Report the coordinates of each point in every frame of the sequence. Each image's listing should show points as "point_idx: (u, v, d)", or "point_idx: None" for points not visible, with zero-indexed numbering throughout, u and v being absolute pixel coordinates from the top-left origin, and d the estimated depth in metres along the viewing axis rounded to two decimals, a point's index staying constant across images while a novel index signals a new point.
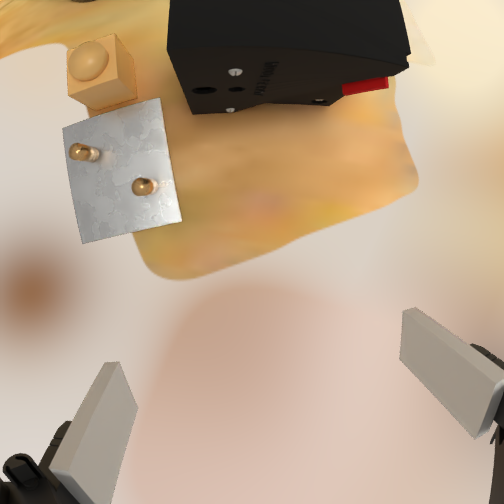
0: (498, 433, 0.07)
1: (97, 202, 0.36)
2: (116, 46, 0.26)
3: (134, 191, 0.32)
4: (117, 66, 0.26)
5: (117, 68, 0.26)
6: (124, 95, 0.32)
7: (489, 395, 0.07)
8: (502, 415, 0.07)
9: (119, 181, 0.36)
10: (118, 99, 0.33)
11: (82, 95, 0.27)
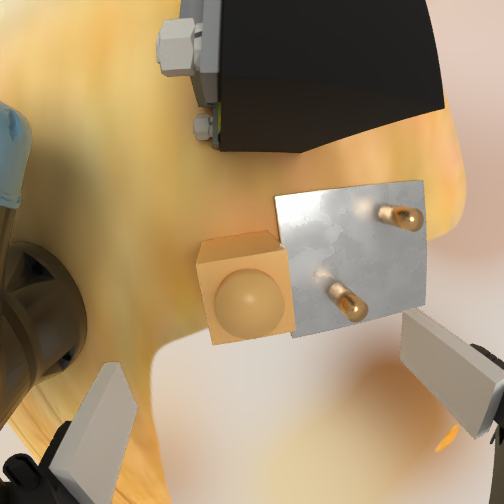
0: (498, 433, 0.07)
1: (391, 284, 0.30)
2: (219, 258, 0.21)
3: (418, 228, 0.24)
4: (262, 252, 0.21)
5: (268, 251, 0.21)
6: None
7: (489, 395, 0.07)
8: (502, 415, 0.07)
9: (376, 254, 0.30)
10: None
11: None
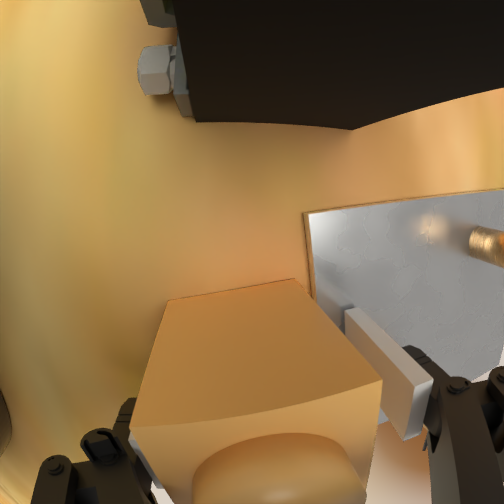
0: (429, 441, 0.08)
1: (469, 347, 0.17)
2: (195, 406, 0.07)
3: None
4: (316, 390, 0.07)
5: (335, 390, 0.07)
6: None
7: (410, 397, 0.08)
8: (430, 423, 0.08)
9: (459, 307, 0.16)
10: None
11: None
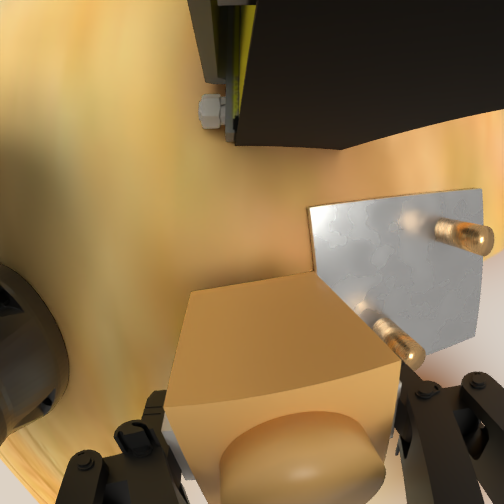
0: (401, 446, 0.08)
1: (443, 315, 0.23)
2: (227, 386, 0.07)
3: (488, 251, 0.16)
4: (341, 369, 0.07)
5: (358, 369, 0.07)
6: None
7: None
8: (401, 429, 0.08)
9: (429, 280, 0.22)
10: None
11: None
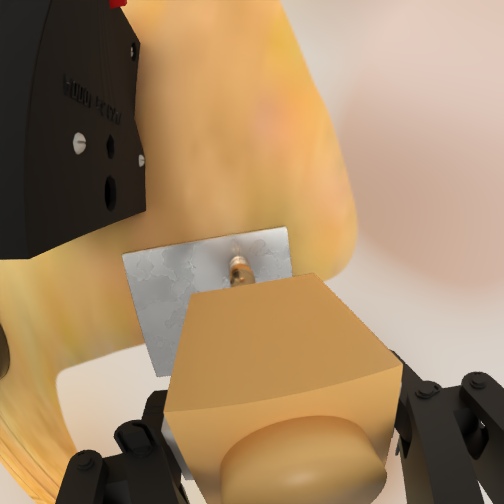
0: (401, 446, 0.08)
1: None
2: (228, 390, 0.07)
3: None
4: (342, 374, 0.07)
5: (360, 373, 0.07)
6: None
7: None
8: (401, 428, 0.08)
9: None
10: None
11: None
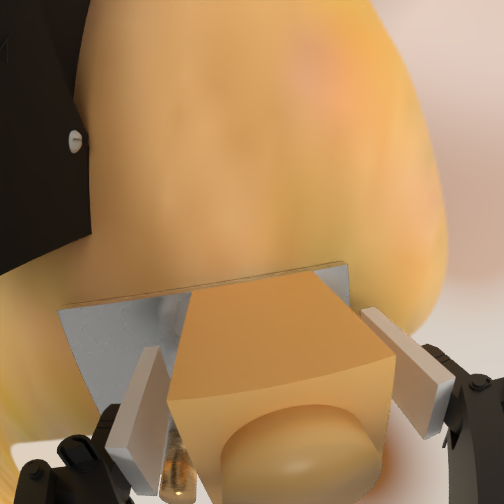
0: (449, 438, 0.07)
1: None
2: (228, 380, 0.08)
3: None
4: (337, 364, 0.08)
5: (354, 363, 0.07)
6: None
7: (433, 396, 0.08)
8: (451, 420, 0.08)
9: None
10: None
11: None
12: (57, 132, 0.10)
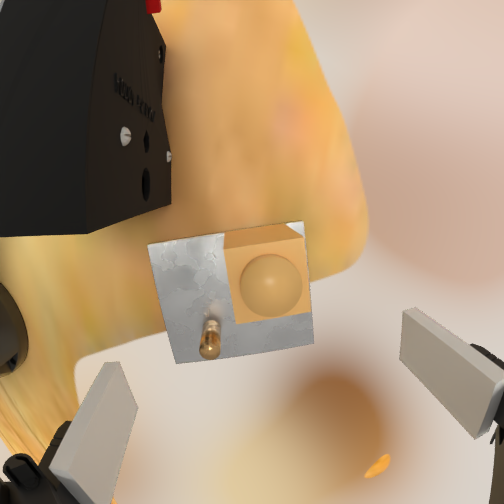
0: (498, 433, 0.07)
1: (269, 323, 0.33)
2: (244, 245, 0.23)
3: None
4: (282, 239, 0.23)
5: (288, 239, 0.23)
6: None
7: (489, 395, 0.07)
8: (502, 415, 0.07)
9: None
10: None
11: None
12: (164, 152, 0.26)
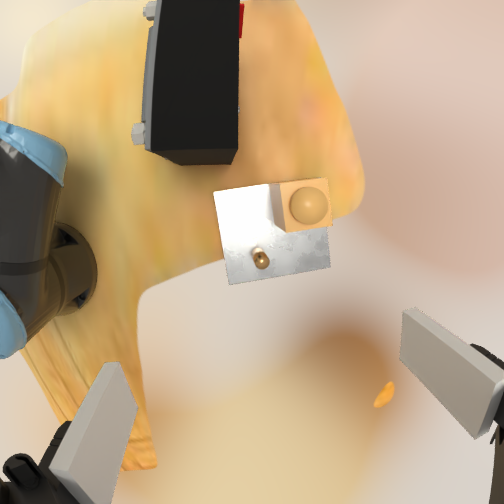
0: (498, 433, 0.07)
1: (299, 250, 0.47)
2: None
3: None
4: (314, 179, 0.37)
5: (317, 178, 0.37)
6: None
7: (489, 395, 0.07)
8: (502, 415, 0.07)
9: None
10: None
11: None
12: None
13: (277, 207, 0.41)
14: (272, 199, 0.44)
